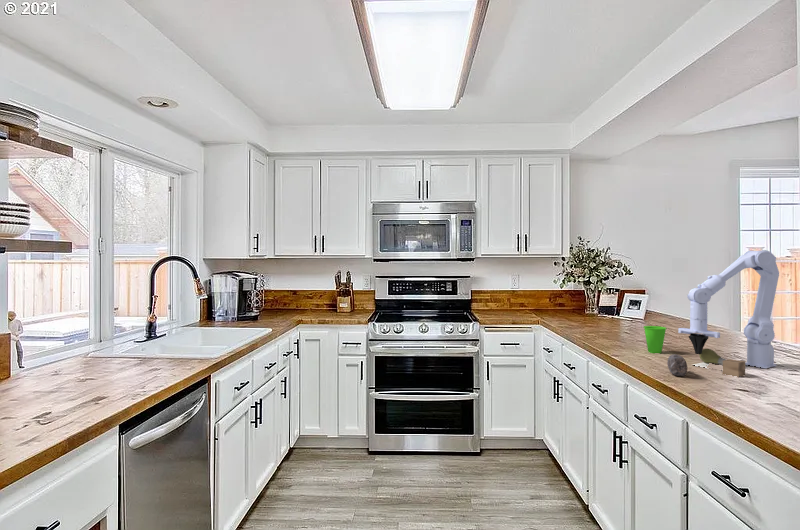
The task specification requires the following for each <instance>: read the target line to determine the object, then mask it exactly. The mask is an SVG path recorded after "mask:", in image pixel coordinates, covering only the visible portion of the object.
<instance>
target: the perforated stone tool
mask: <svg viewBox="0 0 800 530" xmlns="http://www.w3.org/2000/svg"><path fill="white" fill-rule="evenodd" d="M666 362H667V368H668V370H669V372H670V373H671V374H672V375H673V376H677V377H684V376H686V375H687V373H688V364H687V363H688V362H687V360H686V359H685V358H684V357H683V356H681V355H680V354H673V353H672V354H670V355H669V356H668V359H667V361H666Z"/></svg>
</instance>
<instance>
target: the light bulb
mask: <svg viewBox="0 0 800 530" xmlns="http://www.w3.org/2000/svg"><path fill="white" fill-rule="evenodd" d="M698 355H699V357H698V358H699V359H700V360H701V361H702V362H705V363H714V364H719V365H723V360H727V359H725V358H723V357H722V356H720V355H719V354H718V353H716V352H715V350H714V349H711V348H703V350H702V354H698Z"/></svg>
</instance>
